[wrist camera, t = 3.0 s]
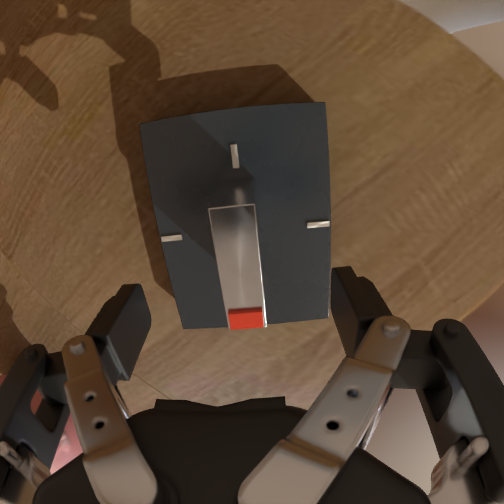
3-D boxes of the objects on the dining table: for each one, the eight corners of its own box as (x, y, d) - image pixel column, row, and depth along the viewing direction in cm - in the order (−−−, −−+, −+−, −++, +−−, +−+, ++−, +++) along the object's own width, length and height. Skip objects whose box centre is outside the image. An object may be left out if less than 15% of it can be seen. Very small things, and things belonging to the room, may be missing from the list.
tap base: (151, 122, 19) (138, 124, 16) (316, 103, 18) (326, 101, 16) (188, 310, 25) (182, 330, 22) (322, 299, 24) (329, 319, 22)
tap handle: (220, 181, 18) (206, 210, 13) (254, 177, 18) (254, 205, 13) (234, 277, 21) (228, 332, 15) (264, 274, 20) (267, 330, 15)
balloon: (144, 410, 32) (115, 521, 18) (65, 428, 36) (36, 502, 22) (50, 320, 26) (-24, 431, 12) (-5, 363, 31) (-52, 434, 17)
